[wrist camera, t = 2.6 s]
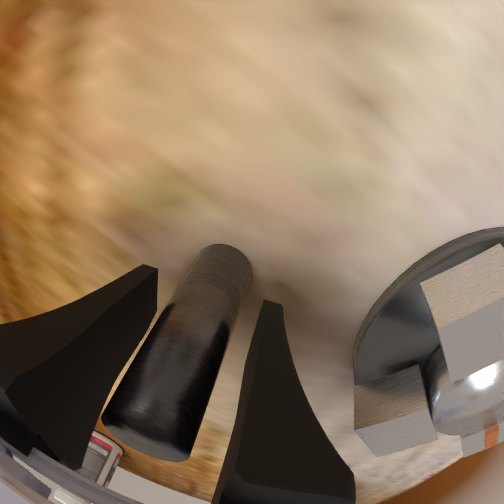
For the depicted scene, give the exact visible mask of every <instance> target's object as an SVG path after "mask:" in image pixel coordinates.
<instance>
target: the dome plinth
mask: <svg viewBox="0 0 504 504" xmlns="http://www.w3.org/2000/svg"><path fill="white" fill-rule="evenodd" d="M499 243H500V244H501V245H502V246H503V248H504V227H498V228H491V229H484V230H481V231H477V232H474V233H470V234H467V235H464V236H462V237H460V238H457V239H455V240H453V241H450V242H448V243H447V244H445V245H443V246H441V247H439V248H438V249H436V250H434V251H432V252H431V253H429V254H428V255H426V256H425V257H423V258H422V259H421V260H419V261H418V262H416V263H415V264H414V265H412V266H411V267H410V268H409V269H408V270H406V271H405V272H404V273H403V274H402V275H400V276H399V277H398V278H397V279H396V280H395V281H394V282H393V283H392V284H391V285H390V286H389V287H388V288H387V289H386V290H385V292H384V293H383V294H382V295H381V297H380V298H379V299H378V300H377V302H376V303H375V304H374V306H373V307H372V309H371V310H370V312H369V314H368V315H367V317H366V318H365V320H364V322H363V324H362V327H361V329H360V331H359V333H358V337H357V340H356V343H355V348H354V356H353V360H354V380H355V386H357V385H360V384H364V383H367V382H370V381H373V380H376V379H379V378H382V377H385V376H388V375H391V374H393V373H396V372H399V371H402V370H404V369H407V368H410V367H412V366H415V365H418V364H419V367H420V370H421V373H422V376H423V378H424V381H425V370H426V368H427V365H428V363H429V361H430V359H431V358H432V356H433V355H434V353H435V352H436V351H437V350H438V348H439V347H440V344H439V341H438V338H437V335H436V331H435V328H434V325H433V321H432V318H431V315H430V312H429V309H428V306H427V302H426V299H425V297H424V294H423V291H422V288H421V285H420V282H423V281H425V280H427V279H429V278H431V277H433V276H436V275H438V274H440V273H442V272H444V271H446V270H448V269H450V268H452V267H454V266H456V265H458V264H460V263H463V262H465V261H467V260H468V259H470V258H472V257H474V256H476V255H478V254H480V253H482V252H484V251H486V250H488V249H490V248H492V247H494V246H495V245H497V244H499Z"/></svg>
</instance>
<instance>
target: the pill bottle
mask: <svg viewBox="0 0 504 504" xmlns="http://www.w3.org/2000/svg"><path fill="white" fill-rule="evenodd" d="M122 454H123V452H122V449H121V448H120V447H119V446H118V445H117V444H116V443H115V442H113V441H112V440H110V439H109V438H107V437H106V436H104V435H102V434H100V433H98V432H96V431H93V434H92V436H91V439H90V442H89V445H88V448H87V451H86V454H85V457H84V460H83V464H82V467H81V469H79V470H75V471H74V472H76V473H78V474H80V475H82V476H84V477H85V478H87V479H89V480H91V481H93V482H95V483H97V484H99V485H101V486H104V487H106V488H107V487H108V485H109V483H110V481H111V478H112V476H113V474H114V472H115V469H116V467H117V465H118V463H119V461H120V458H121V456H122ZM54 498H56V499H57V500H59V501H61V502H63V503H64V504H90V503H91V502H89V501H87V500H85V499H83V498H82V497H80V496H78V495H76V494H74V493H72V492H70V491H69V490H67V489H65V488H63V487H62V486H61V488H58V489H57V490H56V492H55V494H54Z"/></svg>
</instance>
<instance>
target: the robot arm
mask: <svg viewBox="0 0 504 504" xmlns="http://www.w3.org/2000/svg"><path fill="white" fill-rule="evenodd" d="M157 284H158V269H157V268H154V267H151V266H148V265H144V264H143V265H141V266H139V267H137V268H135V269H133V270H132V271H130V272H128V273H126V274H125V275H123V276H121V277H120V278H118V279H116V280H114V281H112V282H111V283H109V284H107V285H105V286H104V287H102V288H100V289H98V290H96V291H94V292H92V293H90V294H88V295H86V296H84V297H82V298H80V299H78V300H76V301H74V302H72V303H69V304H67V305H65V306H62V307H60V308H57V309H55V310H52V311H49V312H46V313H43V314H40V315H37V316H33V317H30V318H27V319H23V320H19V321H15V322H10V323H5V324H0V504H54V503H53V502H51V501H49V500H48V497H49V495H50V493H51V488H49V487H48V486H47V485H45V484H44V483H42V482H41V481H40V480H38V479H37V478H36V477H35V476H34V475H33V474H31V473H30V472H29V471H28V470H27V469H25V468H24V467H23V466H22V465H20V464H19V463H18V462H16V461H15V460H14V459H13V455H14V456H16V457H17V458H19V459H20V460H21V461H23V462H24V463H26V464H27V465H28V466H30V467H31V468H33V469H34V470H36V471H38V472H39V473H40V474H42V475H44V476H45V477H47V478H49V479H50V480H52V481H54V482H55V483H57V484H58V485H60V486H62V487H63V488H65V489H67V490H69V491H70V492H72V493H74V494H76V495H78V496H80V497H82V498H83V499H85V500H87V501H89V502H91V503H93V504H143V503H141V502H138V501H136V500H133V499H130V498H128V497H126V496H123V495H121V494H119V493H117V492H114V491H112V490H110V489H108V488H106V487H104V486H101V485H99V484H97V483H95V482H93V481H91V480H89V479H87V478H85V477H84V476H82V475H80V474H78V473H76V472H74V471H75V470H79V469H81V467H82V464H83V460H84V457H85V454H86V451H87V448H88V445H89V442H90V439H91V436H92V434H93V431H94V428H95V426H96V423H97V420H98V418H99V416H100V413H101V411H102V409H103V406H104V404H105V402H106V400H107V397H108V395H109V393H110V391H111V389H112V387H113V385H114V383H115V381H116V379H117V377H118V376H119V374H120V372H121V371H122V369H123V368H124V366H125V365H126V363H127V361H128V360H129V358H130V357H131V355H132V354H133V352H134V351H135V349H136V348H137V346H138V344H139V343H140V341H141V340H142V338H143V337H144V335H145V334H146V332H147V330H148V328H149V326H150V324H151V322H152V320H153V318H154V315H155V313H156V311H157ZM11 453H12V454H13V455H12V454H11ZM355 501H356V490H355V481H354V474H353V472H352V471H351V470H350V469H349V467H348V466H347V465H346V463H345V462H344V461H343V459H342V458H341V457H340V455H339V454H338V452H337V451H336V450H335V448H334V447H333V445H332V443H331V442H330V440H329V439H328V437H327V436H326V434H325V432H324V430H323V429H322V427H321V425H320V423H319V422H318V420H317V418H316V416H315V414H314V413H313V411H312V408H311V406H310V404H309V402H308V400H307V398H306V395H305V393H304V391H303V388H302V386H301V383H300V381H299V378H298V375H297V372H296V369H295V366H294V363H293V359H292V356H291V352H290V348H289V344H288V340H287V335H286V330H285V324H284V317H283V307H282V305H281V304H278V303H274V302H270V301H267V300H264V301H263V304H262V307H261V311H260V314H259V317H258V321H257V324H256V327H255V331H254V334H253V337H252V341H251V344H250V348H249V351H248V355H247V359H246V362H245V367H244V373H243V379H242V385H241V391H240V397H239V403H238V409H237V415H236V420H235V424H234V428H233V432H232V435H231V439H230V442H229V446H228V449H227V453H226V456H225V459H224V463H223V466H222V470H221V473H220V476H219V480H218V483H217V486H216V489H215V493H214V496H213V499H212V502H211V504H355Z"/></svg>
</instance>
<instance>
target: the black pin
mask: <svg viewBox="0 0 504 504" xmlns="http://www.w3.org/2000/svg"><path fill="white" fill-rule="evenodd" d="M251 274H252V271H251V266H250V263H249V261H248V260H247V258H246V257H245V256H244V254H242V253H241V252H240V251H239V250H237V249H236V248H234V247H232V246H229V245H224V244H214V245H210V246H208V247H206V248H204V249H203V250H202V251H201V252H200V253H199V255H198V256H197V258H196V259H195V261H194V262H193V264H192V266H191V267H190V269H189V270H188V272H187V273H186V275H185V277H184V278H183V280H182V281H181V283H180V284H179V286H178V288H177V289H176V291H175V292H174V294H173V296H172V297H171V299H170V300H169V302H168V304H167V305H166V307H165V308H164V310H163V312H162V313H161V315H160V317H159V318H158V320H157V321H156V323H155V325H154V326H153V328H152V330H151V331H150V333H149V335H148V336H147V338H146V340H145V341H144V343H143V345H142V346H141V348H140V350H139V351H138V353H137V355H136V356H135V358H134V360H133V361H132V363H131V365H130V366H129V368H128V370H127V372H126V373H125V375H124V377H123V378H122V380H121V382H120V384H119V385H118V387H117V389H116V391H115V392H114V394H113V396H112V398H111V399H110V401H109V403H108V405H107V406H106V408H105V410H104V412H103V414H102V416H101V420H102V422H103V424H104V426H105V427H106V428H107V430H108V431H109V432H110V433H111V434H113V435H114V436H115V437H116V438H117V439H119V440H120V441H122V442H123V443H125V444H126V445H128V446H129V447H131V448H133V449H135V450H137V451H139V452H141V453H144V454H146V455H149V456H151V457H154V458H157V459H161V460H166V461H173V462H180V461H185V460H187V459H188V458H189V457H190V454H191V451H192V448H193V445H194V443H195V440H196V437H197V434H198V431H199V428H200V425H201V422H202V419H203V417H204V414H205V411H206V408H207V405H208V402H209V399H210V396H211V393H212V390H213V388H214V385H215V382H216V379H217V376H218V373H219V370H220V367H221V364H222V361H223V358H224V355H225V353H226V350H227V347H228V344H229V341H230V338H231V335H232V332H233V329H234V326H235V323H236V320H237V317H238V314H239V311H240V308H241V306H242V303H243V300H244V297H245V294H246V291H247V288H248V285H249V282H250V279H251Z"/></svg>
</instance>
